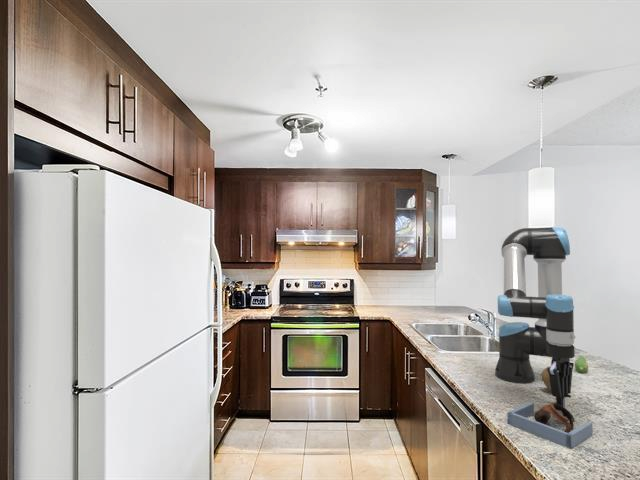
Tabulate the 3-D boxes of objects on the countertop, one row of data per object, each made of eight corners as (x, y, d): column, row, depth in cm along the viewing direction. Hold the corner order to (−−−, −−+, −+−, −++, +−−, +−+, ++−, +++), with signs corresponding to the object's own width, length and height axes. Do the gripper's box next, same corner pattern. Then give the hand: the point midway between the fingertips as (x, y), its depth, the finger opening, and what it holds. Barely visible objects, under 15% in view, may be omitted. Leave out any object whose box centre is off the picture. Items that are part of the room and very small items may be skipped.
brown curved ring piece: (545, 418, 120) (559, 400, 118) (569, 444, 112) (585, 425, 110) (519, 415, 116) (534, 396, 114) (543, 442, 108) (559, 422, 105)
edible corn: (572, 363, 166) (584, 362, 163) (575, 355, 181) (586, 353, 178) (576, 375, 164) (588, 374, 162) (579, 365, 180) (590, 364, 177)
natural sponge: (543, 386, 148) (543, 361, 149) (570, 391, 143) (569, 365, 143) (539, 393, 141) (539, 367, 142) (567, 399, 136) (567, 371, 136)
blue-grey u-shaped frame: (507, 423, 116) (507, 412, 116) (530, 412, 124) (530, 402, 124) (571, 448, 101) (570, 436, 101) (592, 434, 109) (592, 422, 109)
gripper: (563, 348, 111) (565, 427, 111) (582, 342, 119) (584, 416, 118) (537, 343, 118) (539, 418, 117) (557, 338, 125) (558, 408, 124)
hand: (561, 417), depth 117 cm, fingers closed
